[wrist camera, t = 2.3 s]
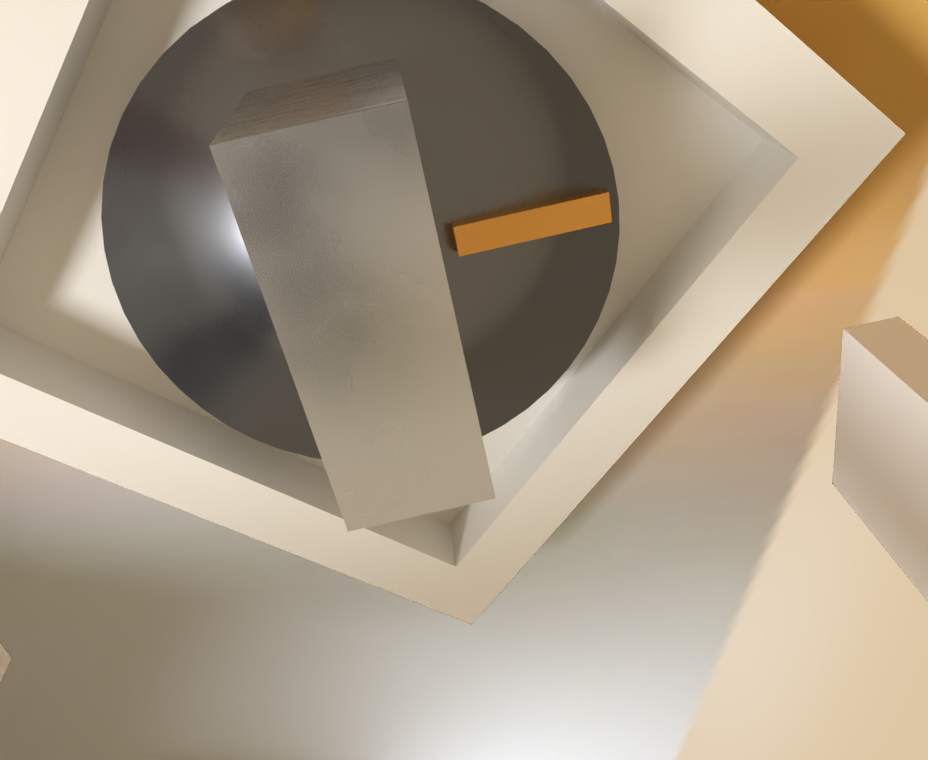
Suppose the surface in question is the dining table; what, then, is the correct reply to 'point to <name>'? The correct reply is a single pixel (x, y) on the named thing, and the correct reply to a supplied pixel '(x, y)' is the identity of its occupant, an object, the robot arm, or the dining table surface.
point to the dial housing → (555, 413)
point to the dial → (362, 234)
